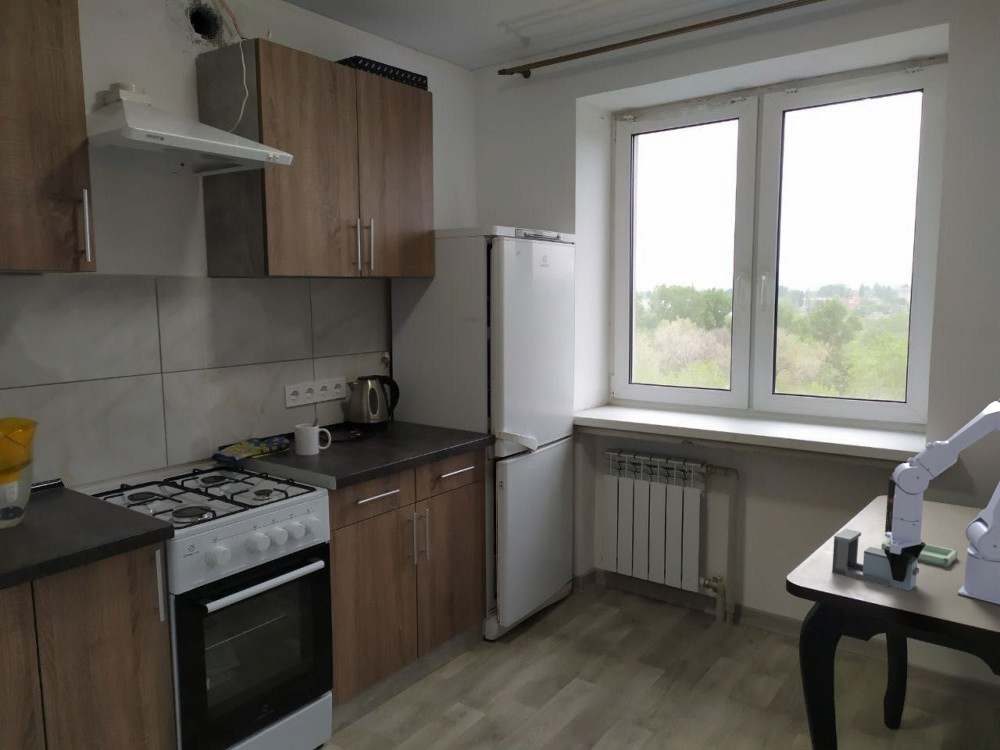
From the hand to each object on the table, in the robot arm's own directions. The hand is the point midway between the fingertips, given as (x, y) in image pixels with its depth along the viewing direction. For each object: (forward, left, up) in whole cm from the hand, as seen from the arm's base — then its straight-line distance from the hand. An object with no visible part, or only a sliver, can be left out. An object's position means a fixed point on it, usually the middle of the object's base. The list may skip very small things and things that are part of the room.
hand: (902, 576), depth 162 cm
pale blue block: (+3, 0, -2) cm, 4 cm away
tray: (+3, -23, -2) cm, 23 cm away
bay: (+8, 0, -2) cm, 8 cm away
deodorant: (+12, -37, -2) cm, 39 cm away
